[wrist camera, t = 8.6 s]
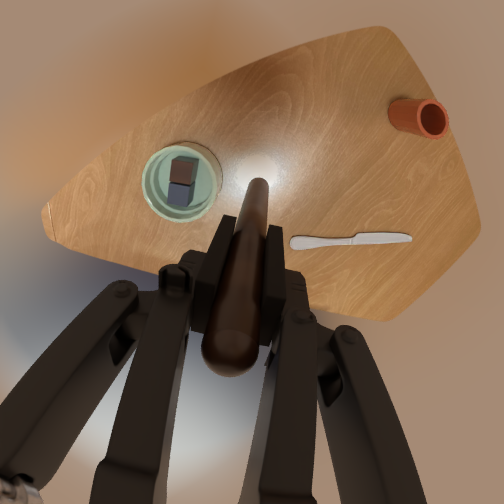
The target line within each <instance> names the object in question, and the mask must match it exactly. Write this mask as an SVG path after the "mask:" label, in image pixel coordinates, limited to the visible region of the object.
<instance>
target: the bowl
mask: <svg viewBox="0 0 504 504" xmlns="http://www.w3.org/2000/svg"><path fill="white" fill-rule="evenodd" d="M177 156H184V157H190V158H196V159H199V164H198V170H197V176H196V180H195V181H196V182H195V189H194V196H193V201H192V202H191V203H190V204H189V206H188V207H182V206H177V205H172V204H167V197H168V187H169V183H170V182H171V181H169V177H170V169H171V161H172V159H174V158H176V157H177ZM221 185H222V172H221V167H220V165H219V163H218V161H217V159H216V157H215V156H214V155H213V154H212V153H211V152H210V151H209V150H208V149H206V148H204V147H202V146H200V145H199V144H196V143H190V142H182V143H176V144H173V145H170V146H168V147H165V148H163V149H161V150H160V151H158V152H156V153H155V154H154V155H153V156H152V157H151V158H150V159H149V160H148V162H147V163H146V166H145V168H144V171H143V173H142V189H143V194H144V197H145V199H146V201H147V203H148V204H149V206H150V207H151V208H152V209H153V210H154V211H155V212H156V213H157V214H158V215H159V216H161V217H163V218H165V219H167V220H169V221H174V222H178V223H182V222H191V221H193V220H196V219H198V218H200V217H202V216H203V215H204V214H205V213H206V212H207V211H208V210H209V209H210V208H211V206H212V205H213V203H214V201H215V200H216V198H217V196H218V194H219V193H220V191H221Z"/></svg>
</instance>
